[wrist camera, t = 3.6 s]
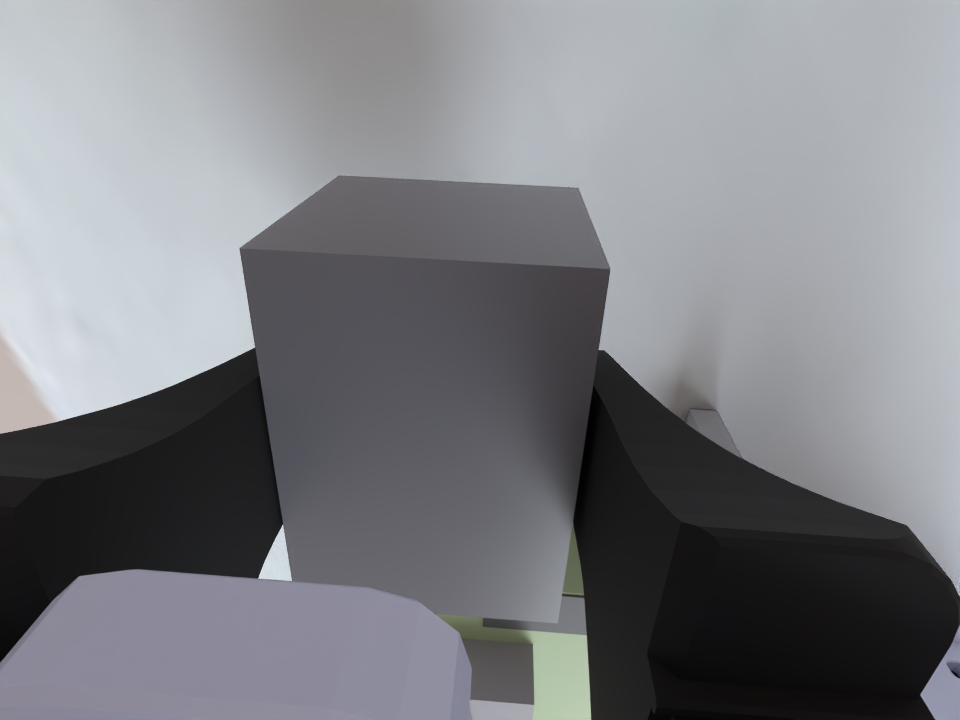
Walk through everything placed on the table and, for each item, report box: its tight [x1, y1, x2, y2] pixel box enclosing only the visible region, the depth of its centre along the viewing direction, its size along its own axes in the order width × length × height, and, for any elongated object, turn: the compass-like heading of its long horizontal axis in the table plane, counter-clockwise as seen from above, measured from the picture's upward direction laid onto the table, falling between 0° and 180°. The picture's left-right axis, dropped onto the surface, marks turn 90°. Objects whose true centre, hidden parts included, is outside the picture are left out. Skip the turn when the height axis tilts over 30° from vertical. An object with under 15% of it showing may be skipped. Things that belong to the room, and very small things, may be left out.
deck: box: [435, 409, 743, 720], centre depth 23 cm, size 12×18×6 cm
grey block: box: [240, 176, 610, 623], centre depth 12 cm, size 5×7×5 cm
